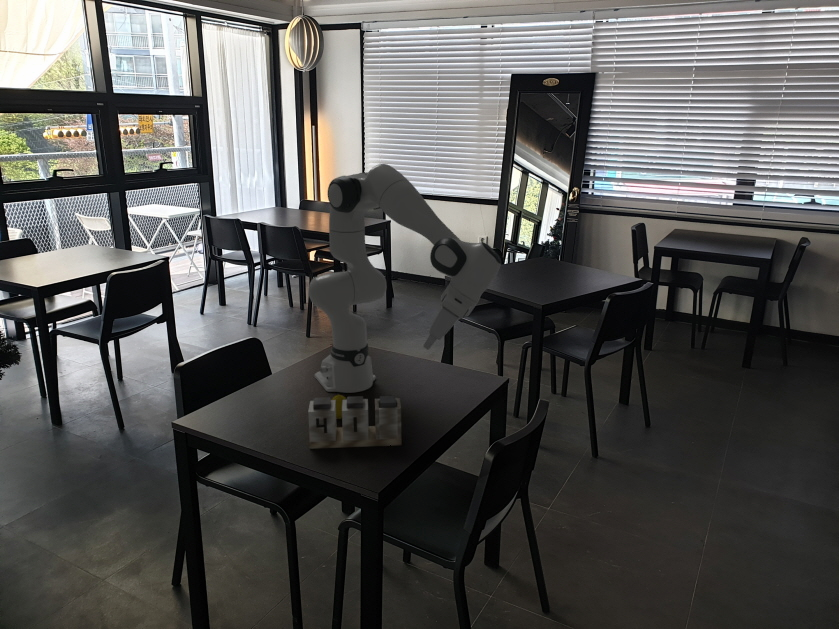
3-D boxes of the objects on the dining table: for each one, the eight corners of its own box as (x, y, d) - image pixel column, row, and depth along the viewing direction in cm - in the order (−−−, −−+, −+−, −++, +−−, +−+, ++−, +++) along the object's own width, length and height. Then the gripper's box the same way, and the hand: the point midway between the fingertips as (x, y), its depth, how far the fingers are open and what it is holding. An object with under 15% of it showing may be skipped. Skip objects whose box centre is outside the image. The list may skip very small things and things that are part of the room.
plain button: (380, 424, 178) (379, 403, 176) (379, 417, 182) (379, 396, 180) (396, 424, 178) (396, 402, 176) (395, 416, 182) (395, 395, 180)
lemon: (349, 414, 195) (348, 390, 193) (348, 423, 190) (347, 398, 188) (331, 415, 195) (330, 390, 193) (329, 423, 190) (328, 398, 187)
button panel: (309, 448, 176) (307, 408, 172) (312, 433, 184) (310, 394, 181) (401, 445, 177) (401, 405, 174) (399, 429, 186) (399, 391, 182)
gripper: (451, 289, 177) (423, 330, 180) (443, 299, 157) (412, 345, 160) (470, 302, 177) (442, 343, 180) (464, 314, 157) (433, 359, 160)
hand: (428, 344), depth 170 cm, fingers open, 8 cm apart
